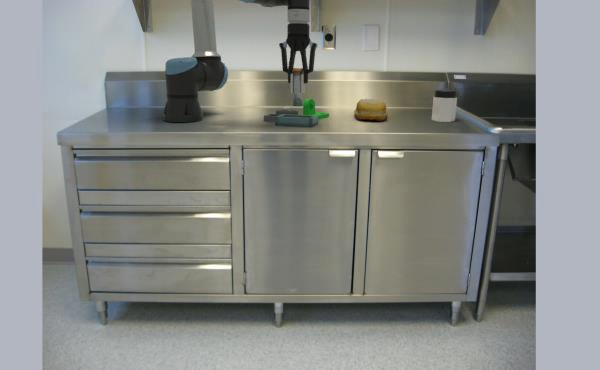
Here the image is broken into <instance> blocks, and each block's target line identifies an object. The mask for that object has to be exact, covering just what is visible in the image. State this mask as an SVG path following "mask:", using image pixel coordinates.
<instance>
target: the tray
mask: <svg viewBox="0 0 600 370" xmlns="http://www.w3.org/2000/svg"><path fill="white" fill-rule="evenodd" d="M274 123H275V124H274V126H280V127H282V126H284V127H297V128H299V127H301V128H302V127H303V128H314V127H315V126H317V125H319V120H318V116H313V115H303V114H298V115H291V114H282V115H279V116H276V117H275V122H274Z"/></svg>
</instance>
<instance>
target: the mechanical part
mask: <svg viewBox="0 0 600 370" xmlns="http://www.w3.org/2000/svg"><path fill="white" fill-rule="evenodd" d="M302 115H313V116H318V121H320V120H323V119H326V118H329V117H330V113H329V112H321V111H320V112H319V111H317V112H316V102H315V100H314V99H313V98H306V99H305V100H304V101H303V106H302Z"/></svg>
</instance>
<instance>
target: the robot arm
mask: <svg viewBox="0 0 600 370" xmlns="http://www.w3.org/2000/svg"><path fill="white" fill-rule="evenodd" d="M238 1H240V2H243V3H246V4H258V5H260V6H261V7H264V8H273V7H274V8H275V7H283V6H285V7H286V6H287V23H288V24H287V31H286V32H287V33H286V34H287V37H286V39H285V41H283V42H279V44H278V45H279V48H280V52H281V65H282V66H281V67H282V72H283V73H286V74H287V83H288V84H290V94H293V71H292V68H295V66H294V65H295V60H296V54H297V52H299V53H300V59H301V65H302V66H301V67H302V68H303V74H301V93H303V94H306V84H308V83H309V74H311V73H313V72H314V68H315V67H314V66H315V57H316V50H317V47H318V43H317V42H313V41H312V40H311V38H310V24H309V23H310V20H311V19H310V0H238ZM190 7H191V9H190V10H191V20H192V21H191V22H192V33H193V46H194V47H193V49H194V53H193V54H192V55H191V56H188V57H184V56H183V57H176V58H171V59H167V61H166V62H165V70H164V73H165V88H166V102H165V106H164V110H163V114H162V120H163V121H164V122H169V123H170V122H172V123H194V122H201V121H203V120H204V112H203V110H202V107H201V104H200V102H199V92H213V91H219V90H221V89H222V88H223V87H224V86H225V85H226V84H227V81H228V76H229V72H228V71H229V69H228V67H227V66H226V64H225V63H224V62H223V61H222V55H220V53H218V51H217V35H216V23H215V9H214V8H215V7H214V0H190ZM308 46H309V48H310V49H309V62H308V60H307V59H308V58H307V49H308ZM287 47H289V48H290V50H289V51H290V53H289V54H290V55H289V62H288V54H287V53H288V52H287Z"/></svg>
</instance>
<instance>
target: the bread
mask: <svg viewBox="0 0 600 370" xmlns="http://www.w3.org/2000/svg"><path fill="white" fill-rule="evenodd" d="M353 114H354V116H355V118H356V119H358V121H361V120H363V121H376V122H382V121H384V120H386V119H387V117H388V111H387V105H386V103H385V102H384V101H382V100H381V99H380V100H379V99H373V98H371V99H370V98H363V99H362V98H361V99H359V100H358V101H357V103H356V107H355V110H354V111H353Z"/></svg>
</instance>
